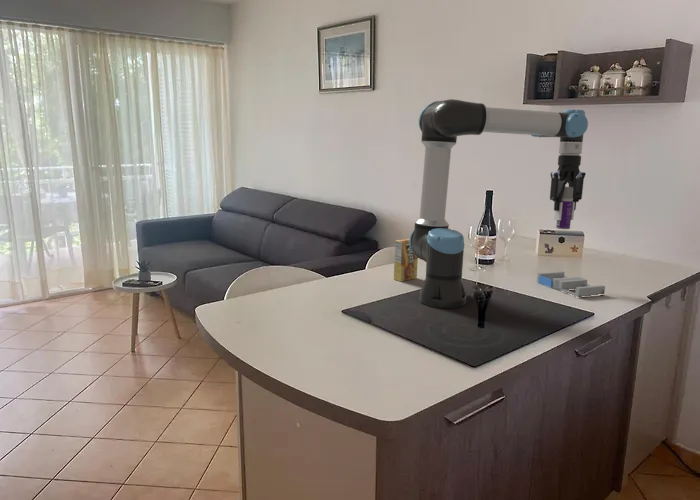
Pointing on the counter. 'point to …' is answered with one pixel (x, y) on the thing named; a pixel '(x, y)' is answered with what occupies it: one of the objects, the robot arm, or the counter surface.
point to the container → (566, 209)
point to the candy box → (404, 261)
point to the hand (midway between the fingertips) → (563, 219)
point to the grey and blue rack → (569, 284)
